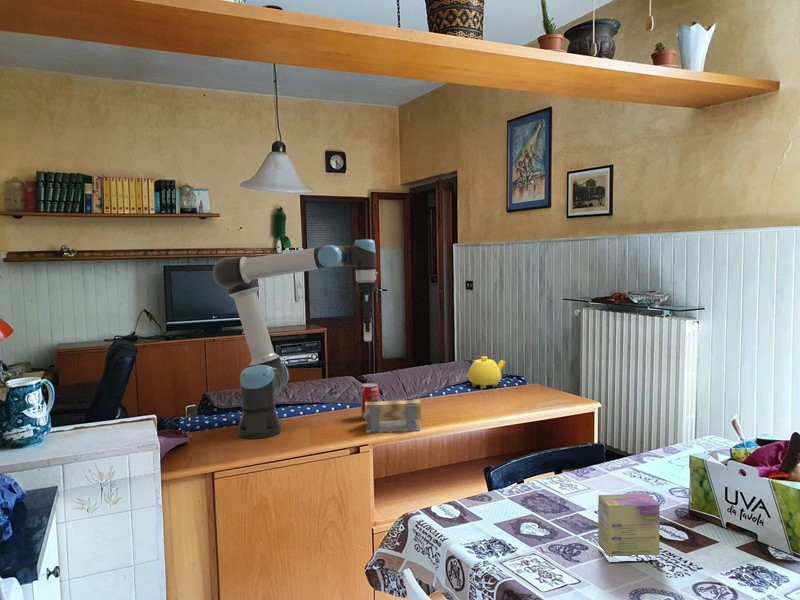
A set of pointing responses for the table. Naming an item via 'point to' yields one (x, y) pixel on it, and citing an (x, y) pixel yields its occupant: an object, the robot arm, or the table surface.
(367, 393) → the soda can
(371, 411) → the bracket mount
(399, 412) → the rail
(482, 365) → the teapot
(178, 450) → the table surface
